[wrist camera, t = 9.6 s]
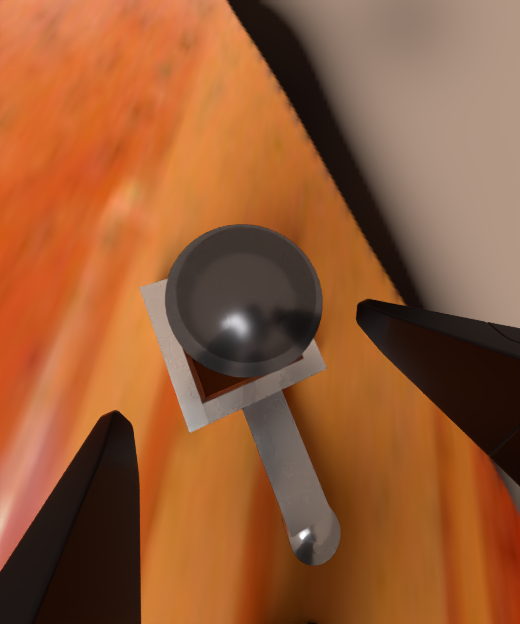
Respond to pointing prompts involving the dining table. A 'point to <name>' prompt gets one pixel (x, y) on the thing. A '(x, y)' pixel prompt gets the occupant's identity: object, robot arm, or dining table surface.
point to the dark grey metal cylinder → (243, 300)
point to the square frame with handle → (259, 431)
